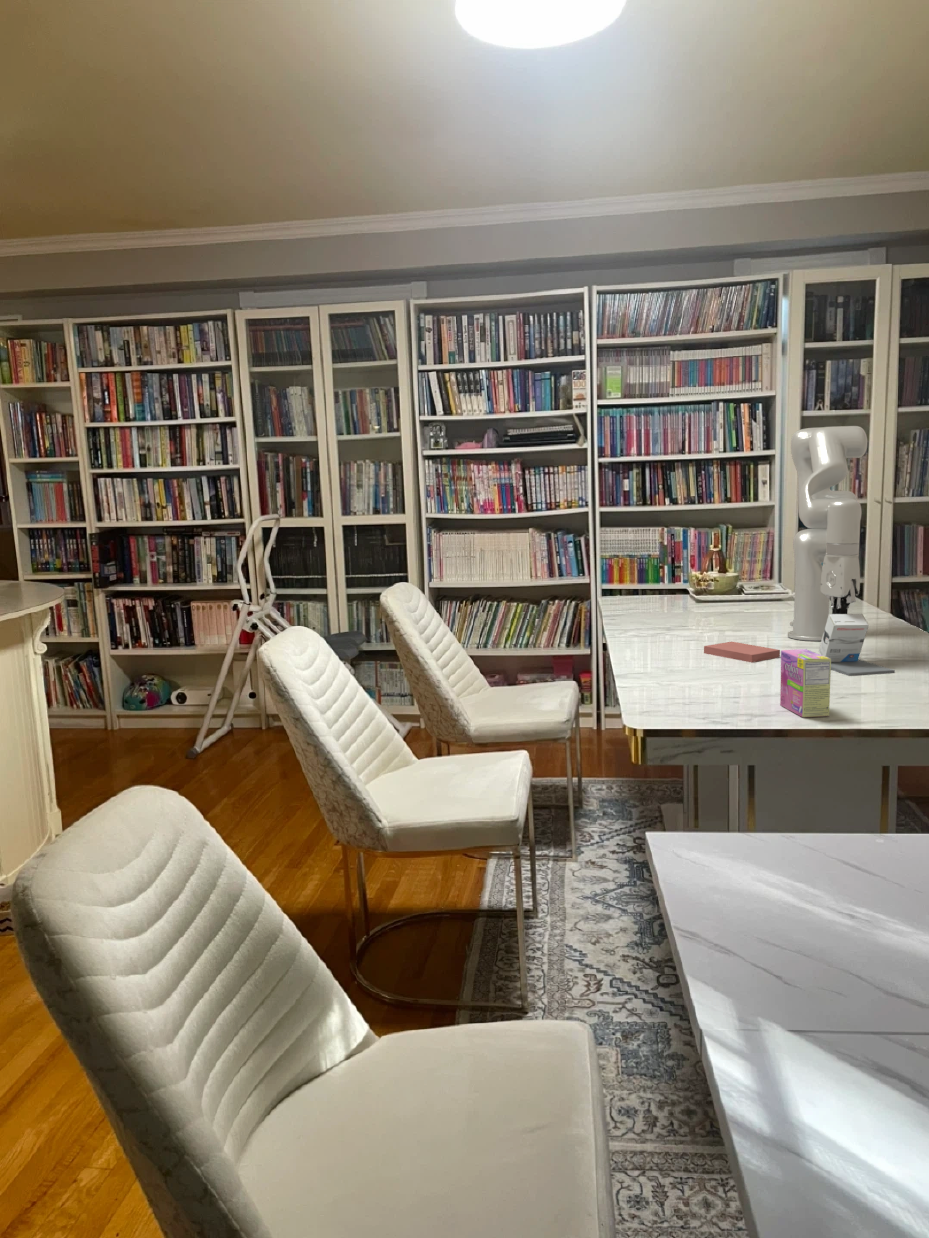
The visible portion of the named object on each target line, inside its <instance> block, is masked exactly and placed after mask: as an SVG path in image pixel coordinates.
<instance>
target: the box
mask: <svg viewBox="0 0 929 1238" xmlns="http://www.w3.org/2000/svg"><path fill="white" fill-rule="evenodd" d="M831 673H832V670H831V658H828V657H825V656H823V655H821V654H820V653H817V652H814V651H811V650H809V649H807V648H799V649H782V650H780V692H779V693H780V694H779V695H780V699H779V702H780V703H779V704H780V706H781V707H782V708H784V709H787V711H790V712H792V713H794V714H796V715H798V716H800V717H801V718H821V717H822V718H823V717H830V701H831V699H830V698H831V676H832V675H831Z"/></svg>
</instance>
